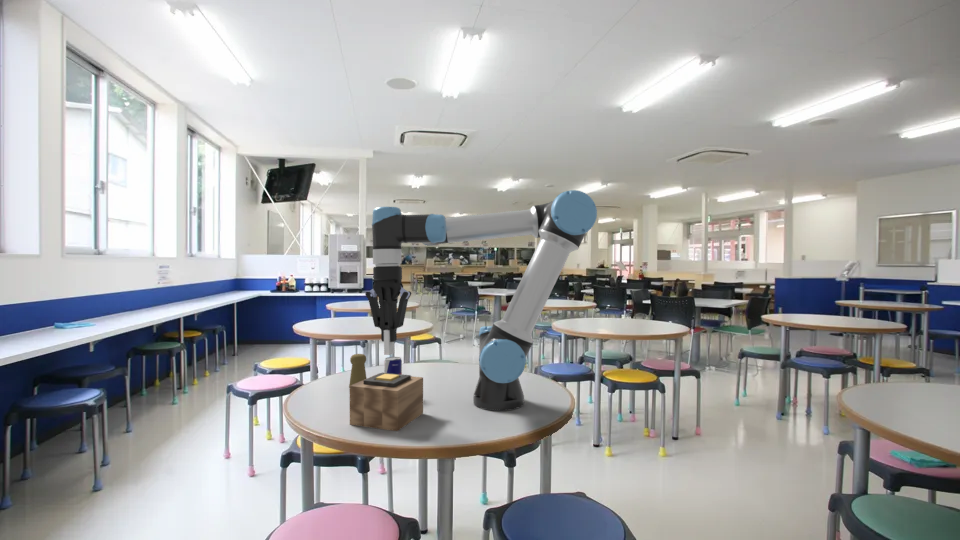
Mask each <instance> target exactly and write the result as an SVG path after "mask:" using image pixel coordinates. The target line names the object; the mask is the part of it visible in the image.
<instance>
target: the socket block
mask: <svg viewBox="0 0 960 540" xmlns="http://www.w3.org/2000/svg"><path fill="white" fill-rule="evenodd" d="M383 374H392V373H384V372H381V373H377V374H375V375H372V376H369V377H366V378H367V379H365V380H362V381H360V382H358V383H355V384H353V385H351V386H350V388H349V426H350V425H351V426H356V427H357V426H358V427H365V428H370V429H371V428H372V429H377V430H378V429H379V430H385V431H393V432H399V431H400V430H401V429H403V428H404V427H406V426H407V425H409V424H411V423H412V422H413V421H414V420H416V419H417V418H419V417H420V416H422V415H424V377H421V376H412V375H411V374H403V373H402V374H393V375H399V378H397V379H395V380H393V381H384V380H376V377H378V376H381V375H383Z"/></svg>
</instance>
